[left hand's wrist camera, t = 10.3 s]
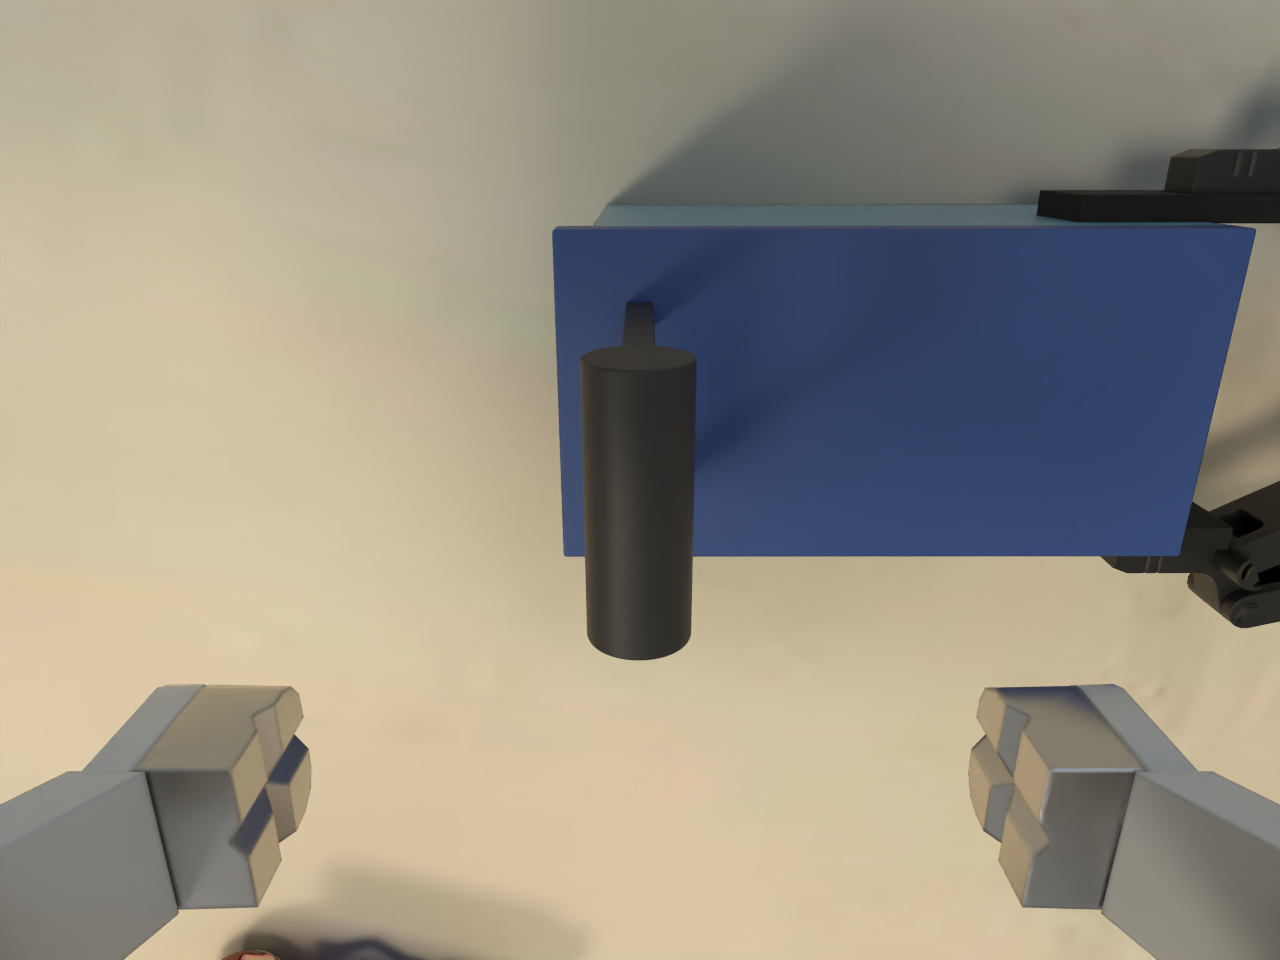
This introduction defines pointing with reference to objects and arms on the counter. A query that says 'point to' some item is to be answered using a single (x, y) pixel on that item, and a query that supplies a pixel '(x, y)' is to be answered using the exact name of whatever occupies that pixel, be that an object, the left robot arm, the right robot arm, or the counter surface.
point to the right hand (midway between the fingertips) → (1031, 374)
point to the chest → (840, 215)
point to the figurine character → (251, 955)
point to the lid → (877, 396)
